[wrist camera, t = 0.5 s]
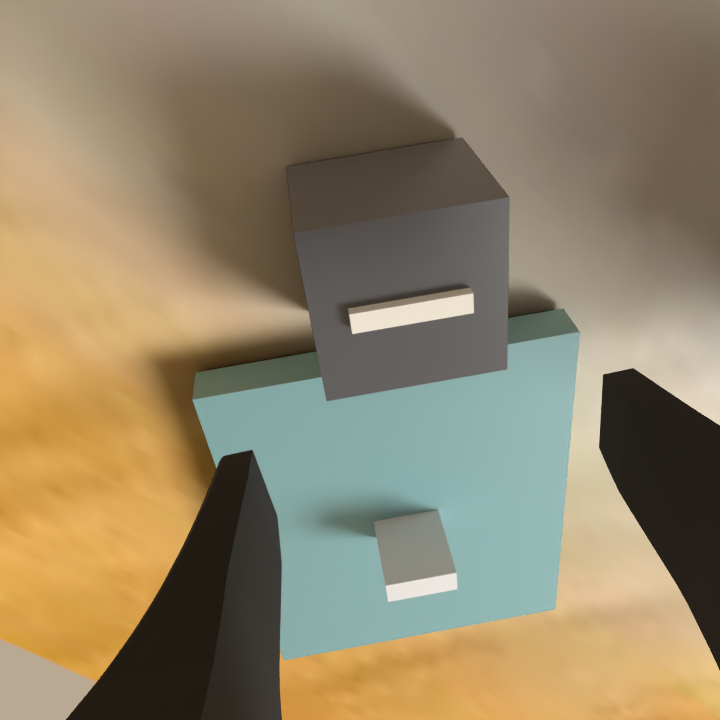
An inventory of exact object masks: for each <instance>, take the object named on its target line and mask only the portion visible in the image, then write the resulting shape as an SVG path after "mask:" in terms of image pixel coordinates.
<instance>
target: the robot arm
mask: <svg viewBox="0 0 720 720" xmlns="http://www.w3.org/2000/svg"><path fill="white" fill-rule="evenodd" d="M599 448H600V451H601V453H602V455H603V457H604V460H605V462H606V464H607V467H608V469H609V471H610V473H611V475H612V478H613V480H614V482H615V484H616V486H617V488H618V490H619V492H620V494H621V495H622V497H623V499H624V500H625V502H626V504H627V505H628V507H629V509H630V510H631V512H632V513H633V515H634V517H635V518H636V520H637V522H638V523H639V525H640V526H641V528H642V530H643V531H644V533H645V534H646V536H647V538H648V539H649V541H650V542H651V544H652V546H653V547H654V549H655V550H656V552H657V554H658V555H659V557H660V558H661V560H662V562H663V563H664V565H665V566H666V568H667V570H668V571H669V573H670V574H671V576H672V578H673V579H674V581H675V582H676V584H677V586H678V588H679V589H680V591H681V593H682V595H683V596H684V598H685V600H686V602H687V603H688V605H689V607H690V609H691V611H692V614H693V616H694V618H695V620H696V622H697V624H698V626H699V628H700V630H701V632H702V634H703V636H704V638H705V640H706V642H707V644H708V646H709V648H710V650H711V652H712V655H713V657H714V659H715V661H716V663H717V665H718V667H719V670H720V425H718V424H716V423H715V422H713V421H712V420H710V419H709V418H707V417H705V416H704V415H702V414H701V413H699V412H698V411H696V410H695V409H693V408H692V407H690V406H688V405H687V404H685V403H684V402H682V401H681V400H679V399H678V398H676V397H675V396H673V395H672V394H671V393H669V392H668V391H666V390H665V389H663V388H662V387H660V386H659V385H657V384H656V383H654V382H653V381H651V380H650V379H648V378H647V377H645V376H644V375H643V374H641V373H639V372H638V371H636V370H635V369H633V368H632V369H628V370H623V371H618V372H613V373H609V374H604V375H603V388H602V406H601V424H600V442H599ZM281 581H282V559H281V548H280V537H279V527H278V517H277V514H276V511H275V508H274V506H273V503H272V500H271V498H270V495H269V492H268V490H267V487H266V484H265V482H264V479H263V476H262V474H261V471H260V468H259V466H258V463H257V460H256V458H255V455H254V452H253V450H249V451H244V452H239V453H235V454H230V455H225V456H223V457H222V458H221V459H220V461H219V463H218V466H217V469H216V471H215V474H214V477H213V479H212V482H211V484H210V487H209V489H208V492H207V494H206V496H205V499H204V501H203V503H202V506H201V508H200V510H199V513H198V515H197V517H196V519H195V521H194V524H193V526H192V528H191V530H190V532H189V534H188V536H187V539H186V541H185V543H184V545H183V547H182V549H181V551H180V553H179V555H178V556H177V558H176V560H175V562H174V564H173V566H172V568H171V570H170V571H169V573H168V575H167V577H166V579H165V581H164V583H163V584H162V586H161V588H160V590H159V591H158V593H157V595H156V596H155V598H154V600H153V602H152V603H151V605H150V606H149V608H148V610H147V611H146V613H145V614H144V616H143V618H142V619H141V621H140V622H139V624H138V625H137V627H136V628H135V630H134V631H133V633H132V634H131V636H130V637H129V639H128V640H127V641H126V643H125V644H124V646H123V647H122V649H121V650H120V651H119V653H118V654H117V656H116V657H115V659H114V660H113V661H112V663H111V664H110V665H109V667H108V668H107V669H106V671H105V672H104V673H103V675H102V676H101V677H100V679H99V680H98V681H97V683H96V684H95V685H94V686H93V687H92V689H91V690H90V691H89V692H88V694H87V695H86V696H85V697H84V698H83V700H82V701H81V702H80V703H79V704H78V706H77V707H76V708H75V709H74V711H73V712H72V713H71V714H70V715H69V717H68V718H67V719H66V720H282V715H281V701H280V677H279V661H280V623H281Z"/></svg>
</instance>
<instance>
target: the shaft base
mask: <svg viewBox="0 0 720 720" xmlns="http://www.w3.org/2000/svg"><path fill="white" fill-rule="evenodd" d="M579 334H580V332H579V330H578V329H577V327H576V326H575V324H574V323H573V322H572V320H571V319H570V317H569V316H568V315H567V313H566V312H565V310H564V309H557V310H552V311H546V312H540V313H534V314H529V315H523V316H517V317H511V318H508V360H507V370H502V371H496V372H490V373H485V374H479V375H473V376H468V377H462V378H456V379H451V380H445V381H439V382H434V383H428V384H422V385H417V386H411V387H405V388H400V389H394V390H388V391H383V392H377V393H371V394H366V395H360V396H354V397H349V398H343V399H337V400H332V401H326V397H325V392H324V387H323V382H322V376H321V371H320V366H319V361H318V356H317V351H316V352H310V353H305V354H299V355H293V356H287V357H282V358H276V359H270V360H265V361H259V362H253V363H247V364H242V365H236V366H230V367H224V368H219V369H213V370H207V371H201V372H196V373H195V381H194V389H193V398H192V400H193V403H194V406H195V409H196V412H197V415H198V418H199V420H200V423H201V426H202V429H203V432H204V435H205V437H206V440H207V443H208V446H209V449H210V452H211V454H212V457H213V460H214V463H215V466H216V469H217V466H218V463H219V461H220V459H221V458H222V457H223V456H225V455H230V454H235V453H239V452H244V451H249V450H253V452H254V455H255V458H256V460H257V463H258V466H259V468H260V471H261V474H262V476H263V479H264V482H265V484H266V487H267V490H268V492H269V495H270V498H271V500H272V503H273V506H274V508H275V511H276V514H277V517H278V527H279V537H280V548H281V559H282V581H281V623H280V650H281V653H282V656H283V659H284V660H289V659H294V658H299V657H304V656H310V655H315V654H320V653H326V652H331V651H336V650H342V649H347V648H352V647H358V646H363V645H368V644H374V643H379V642H384V641H389V640H395V639H400V638H405V637H411V636H416V635H421V634H427V633H432V632H437V631H443V630H448V629H453V628H459V627H464V626H469V625H474V624H480V623H485V622H490V621H496V620H501V619H506V618H512V617H517V616H522V615H528V614H533V613H538V612H544V611H549V610H554V609H555V607H556V596H557V584H558V573H559V562H560V550H561V539H562V527H563V516H564V505H565V493H566V482H567V471H568V459H569V448H570V437H571V425H572V414H573V403H574V391H575V380H576V369H577V357H578V346H579Z"/></svg>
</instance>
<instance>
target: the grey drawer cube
mask: <svg viewBox="0 0 720 720" xmlns="http://www.w3.org/2000/svg"><path fill="white" fill-rule="evenodd" d="M286 172H287V181H288V190H289V199H290V208H291V218H292V227H293V235H294V240H295V245H296V250H297V255H298V260H299V265H300V270H301V275H302V280H303V285H304V290H305V296H306V301H307V306H308V311H309V316H310V321H311V326H312V331H313V336H314V341H315V346H316V351H317V356H318V361H319V366H320V371H321V376H322V382H323V387H324V392H325V397H326V401H332V400H337V399H343V398H349V397H354V396H360V395H366V394H371V393H377V392H383V391H388V390H394V389H400V388H405V387H411V386H417V385H422V384H428V383H434V382H439V381H445V380H451V379H456V378H462V377H468V376H473V375H479V374H485V373H490V372H496V371H502V370H507V360H508V270H509V196H508V195H507V194H506V192H505V191H504V190H503V188H502V187H501V186H500V185H499V183H498V182H497V181H496V180H495V178H494V177H493V176H492V175H491V173H490V172H489V171H488V169H487V168H486V167H485V166H484V164H483V163H482V162H481V161H480V159H479V158H478V157H477V156H476V154H475V153H474V152H473V150H472V149H471V148H470V147H469V145H468V144H467V143H466V142H465V140H464V139H463V138H456V139H450V140H444V141H438V142H432V143H426V144H420V145H414V146H408V147H402V148H396V149H390V150H384V151H378V152H372V153H366V154H360V155H354V156H348V157H342V158H335V159H329V160H323V161H317V162H311V163H305V164H299V165H293V166H287V167H286Z"/></svg>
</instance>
